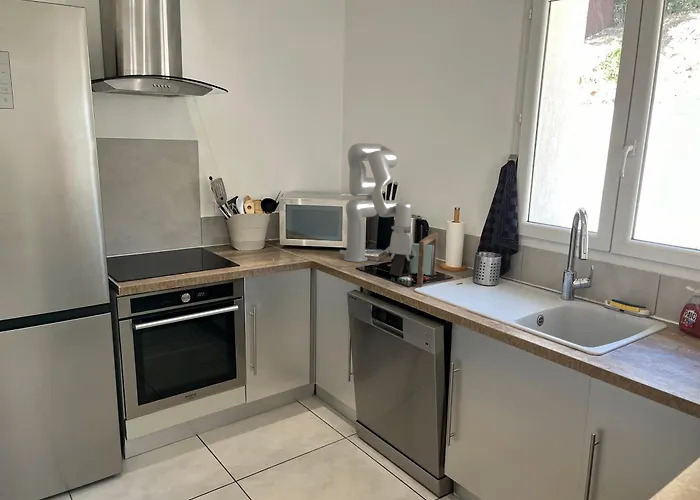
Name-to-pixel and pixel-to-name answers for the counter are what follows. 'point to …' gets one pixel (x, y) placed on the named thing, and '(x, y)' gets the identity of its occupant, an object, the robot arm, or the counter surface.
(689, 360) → the counter surface
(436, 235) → the door frame
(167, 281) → the counter surface
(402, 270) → the door stopper
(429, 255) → the door
